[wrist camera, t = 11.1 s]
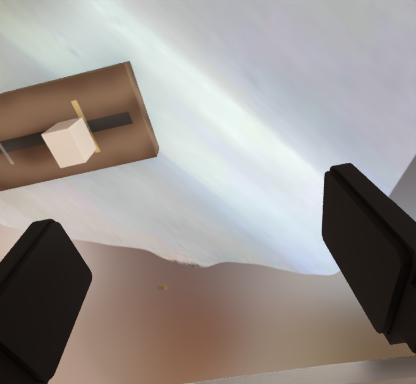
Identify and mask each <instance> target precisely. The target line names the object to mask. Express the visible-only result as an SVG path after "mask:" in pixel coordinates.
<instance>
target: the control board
mask: <svg viewBox="0 0 416 384" xmlns="http://www.w3.org/2000/svg"><path fill="white" fill-rule="evenodd" d="M80 117H82V118H83V120H84V122H85V124H86V125H88V126H89V127H90V132H89V133H90V135H91V137H92V139H93V141H94V143H95V145H96V148H97V149H96V150H95V151H94V153H93V154H92V155H91V156H90V158H89V159H88V160H87V162H86V163H81V164H77V165H73V166H68V167H64V168H60V167H59V165H58V163H57V161H56V160H55V158H54V156H53V154H52V153H51V151H50V149H49V148H48V146H47V144H46V142H45V141H44V139H43V137H42V135H41V134H43V133H44V132H46V131H47V130H48V129H50V128H51V127H53V126H54V125H55V124H57V123H59V122H63V121H67V120H71V119H75V118H80ZM158 151H159V146H158V143H157V140H156V137H155V134H154V131H153V128H152V126H151V123H150V120H149V117H148V114H147V111H146V108H145V105H144V102H143V99H142V96H141V93H140V90H139V87H138V84H137V81H136V78H135V75H134V72H133V70H132V67H131V64H130V61H128V62H124V63H120V64H116V65H112V66H108V67H104V68H100V69H96V70H92V71H88V72H84V73H80V74H76V75H72V76H68V77H64V78H60V79H56V80H52V81H48V82H44V83H40V84H36V85H32V86H28V87H24V88H20V89H16V90H12V91H8V92H4V93H1V94H0V191H3V190H8V189H13V188H17V187H22V186H26V185H31V184H35V183H40V182H44V181H49V180H53V179H58V178H63V177H67V176H72V175H76V174H81V173H85V172H90V171H94V170H99V169H103V168H108V167H113V166H117V165H122V164H126V163H131V162H135V161H140V160H144V159H149V158H153V157H157V154H158Z"/></svg>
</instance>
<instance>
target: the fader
mask: <svg viewBox="0 0 416 384" xmlns="http://www.w3.org/2000/svg"><path fill="white" fill-rule="evenodd" d="M89 132H90V127H89V126H88V125H86V124H85V122H84V120H83V118H82V117H80V118H75V119H71V120H67V121H63V122H59V123H57V124H55V125H54V126H53V127H51V128H50V129H48V130H47V131H46V132H44V133H43V134H41V135H42V137H43V139H44V141H45V142H46V144H47V146H48V148H49V149H50V151H51V153H52V154H53V156H54V158H55V160H56V161H57V163H58V165H59V167H60V168H64V167H68V166H73V165H77V164H81V163H86V162H87V160H88V159H89V158H90V156H91V155H92V154H93V153H94V151H95V150H96V149H97V148H96V145H95V143H94V141H93V139H92V137H91V135H90V133H89Z"/></svg>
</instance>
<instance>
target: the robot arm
mask: <svg viewBox="0 0 416 384" xmlns="http://www.w3.org/2000/svg"><path fill="white" fill-rule="evenodd" d="M322 237H323V240H324V242H325V244H326V246H327V248H328V249H329V251H330V253H331V255H332V256H333V258H334V260H335V261H336V263H337V265H338V267H339V268H340V270H341V272H342V274H343V275H344V277H345V279H346V280H347V282H348V284H349V286H350V287H351V289H352V291H353V293H354V294H355V296H356V298H357V300H358V301H359V303H360V305H361V306H362V308H363V310H364V312H365V313H366V315H367V317H368V319H369V320H370V322H371V324H372V325H373V327H374V329H375V330H376V331H377V332H378V333H383V334H384V335H385V337H386V339H387V340H388V342H389V344H390V345H392V344H399V343H407V344H408V346H409V348H410V349H411V351H412V352H414V353H415V356H409V357H396V358H387V359H378V360H370V361H360V362H351V363H342V364H333V365H324V366H316V367H309V368H301V369H293V370H286V371H278V372H270V373H263V374H255V375H247V376H239V377H231V378H224V379H216V380H209V381H201V382H194V383H186V384H416V222H415V221H414V220H413V219H412V218H411V217H410V216H409V215H408V214H406V213H405V212H404V211H403V210H402V209H401V208H400V207H399V206H398V205H397V204H396V203H395V202H393V201H392V200H391V199H390V198H388V197H387V196H386V195H385V194H384V193H383V192H382V191H381V190H380V189H379V188H378V187H377V186H375V185H374V184H373V183H372V182H371V181H370V180H369V179H368V178H367V177H366V176H365V175H364V174H362V173H361V172H360V171H359V170H358V169H357V168H356V167H355V166H354V165H353V164H351V163H346V164H341V165H335V166H332V167H331V168H330V171H327V172H325V176H324V195H323V216H322ZM91 281H92V273H91V271H90V269H89V267H88V266H87V264H86V263H85V261H84V260H83V258H82V257H81V255H80V253H79V252H78V250H77V249H76V247H75V246H74V244H73V243H72V241H71V240H70V238H69V236H68V235H67V233H66V232H65V230H64V229H63V227H62V226H61V224H60V223H59V222H55V221H54V220H53V219H46V220H41V221H36V222H33V223H32V224H31V225H30V226H29V227H28V229H27V230H26V231H25V232H24V233H23V235H22V236H21V237H20V239H19V240H18V241H17V242H16V243H15V245H14V246H13V247H12V248H11V250H10V251H9V252H8V253H7V255H6V256H5V257H4V258H3V260H2V261H1V262H0V384H47V383H48V381H49V380H50V379H51V378H52V377H53V376H54V374H55V372H56V369H57V367H58V364H59V362H60V359H61V356H62V354H63V352H64V349H65V346H66V344H67V342H68V339H69V337H70V334H71V332H72V329H73V326H74V324H75V321H76V319H77V316H78V314H79V311H80V309H81V306H82V303H83V301H84V299H85V296H86V294H87V291H88V289H89V286H90V284H91Z"/></svg>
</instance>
